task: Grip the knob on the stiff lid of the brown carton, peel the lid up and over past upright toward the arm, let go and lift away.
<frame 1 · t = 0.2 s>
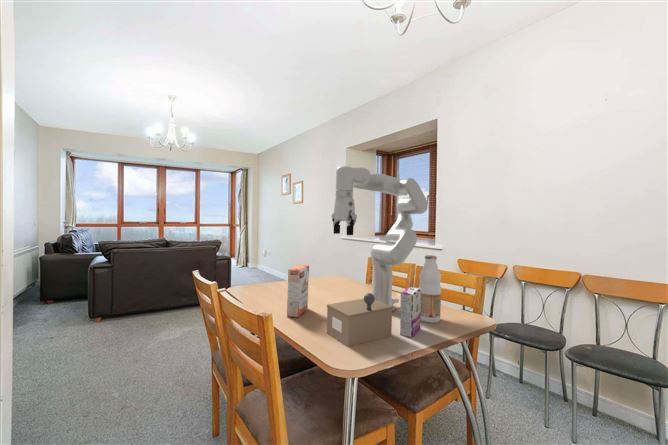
hand: (343, 234, 133), 37 cm above the table, tool pointing down, fingers open, 9 cm apart
candy bar box: (410, 332, 118), on the table
carton lid: (360, 298, 114), point 13 cm above the table, hinge at 0.0°
fruit juice: (428, 319, 133), on the table
carton: (358, 334, 115), on the table
cracker box: (298, 312, 139), on the table
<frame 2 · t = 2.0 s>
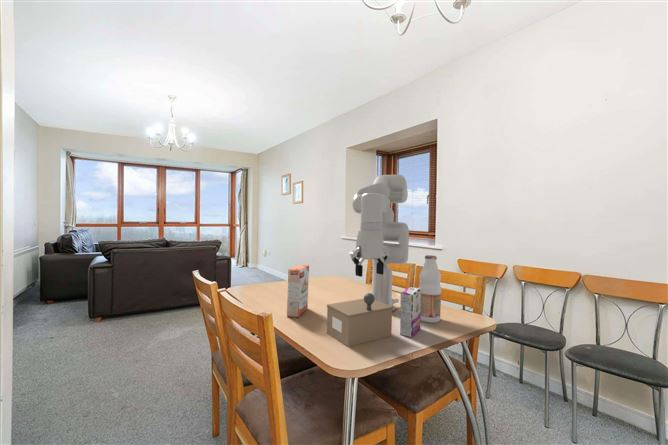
hand: (369, 274, 109), 24 cm above the table, tool pointing down, fingers open, 9 cm apart
nothing on the table moved.
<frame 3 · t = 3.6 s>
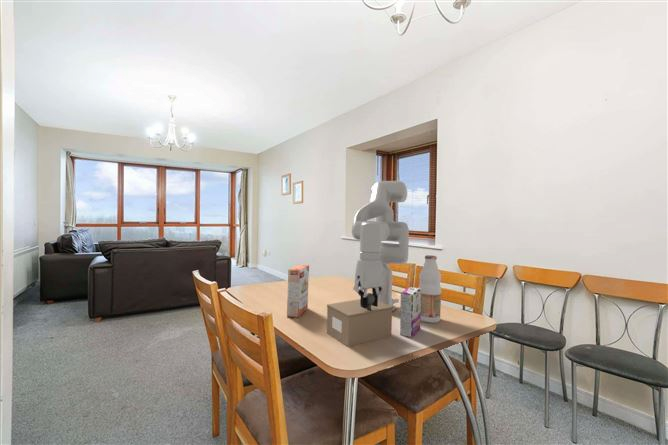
hand: (369, 306, 110), 12 cm above the table, tool pointing down, fingers closed on carton lid, 4 cm apart
carton lid: (360, 298, 114), point 13 cm above the table, hinge at 0.0°, touching gripper
everything else where it was.
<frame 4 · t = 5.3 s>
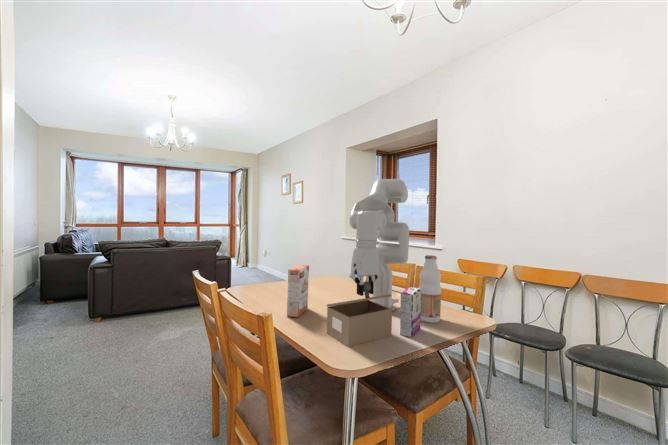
hand: (365, 293, 112), 16 cm above the table, tool pointing down, fingers closed on carton lid, 4 cm apart
carton lid: (357, 292, 115), point 16 cm above the table, hinge at 19.1°, touching gripper
everything else where it was.
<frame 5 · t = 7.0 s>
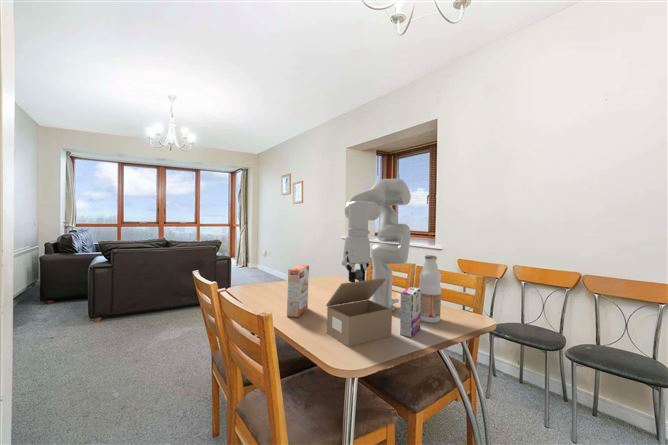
hand: (356, 280, 116), 20 cm above the table, tool pointing down, fingers closed on carton lid, 4 cm apart
carton lid: (353, 285, 118), point 18 cm above the table, hinge at 45.7°, touching gripper
everything else where it was.
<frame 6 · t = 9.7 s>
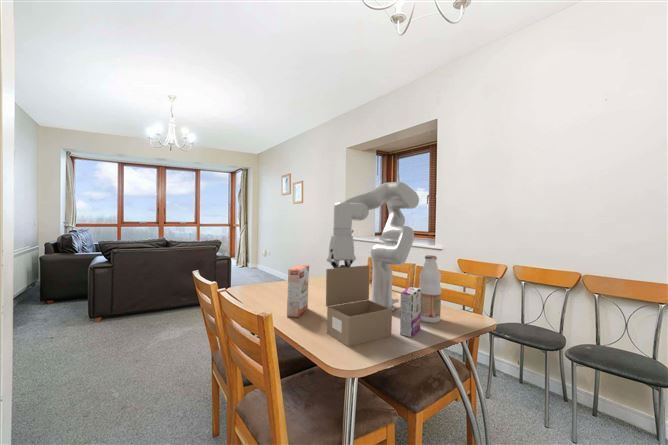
hand: (341, 276, 125), 20 cm above the table, tool pointing down, fingers closed on carton lid, 4 cm apart
carton lid: (344, 283, 123), point 17 cm above the table, hinge at 90.9°, touching gripper
everything else where it was.
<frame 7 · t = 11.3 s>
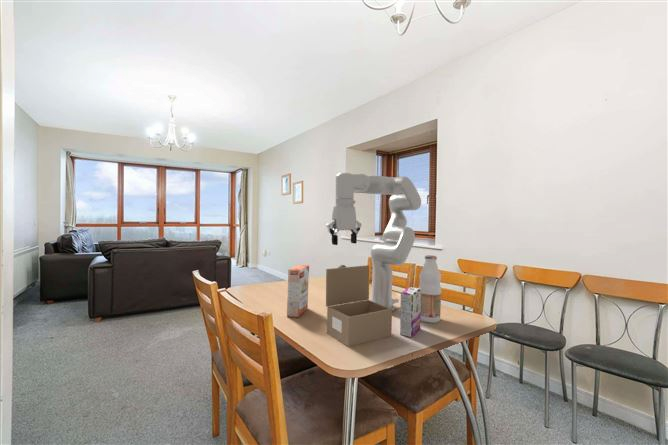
hand: (344, 243, 127), 33 cm above the table, tool pointing down, fingers open, 9 cm apart
carton lid: (344, 283, 123), point 17 cm above the table, hinge at 91.3°
everything else where it was.
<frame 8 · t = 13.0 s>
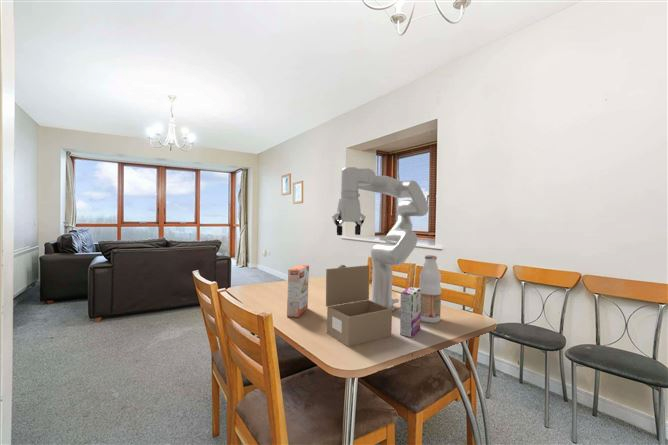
hand: (348, 235, 133), 36 cm above the table, tool pointing down, fingers open, 9 cm apart
nothing on the table moved.
at the end: carton lid at +91° (first picture: +0°) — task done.
